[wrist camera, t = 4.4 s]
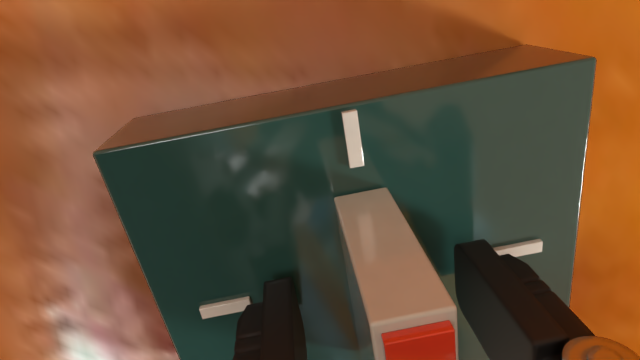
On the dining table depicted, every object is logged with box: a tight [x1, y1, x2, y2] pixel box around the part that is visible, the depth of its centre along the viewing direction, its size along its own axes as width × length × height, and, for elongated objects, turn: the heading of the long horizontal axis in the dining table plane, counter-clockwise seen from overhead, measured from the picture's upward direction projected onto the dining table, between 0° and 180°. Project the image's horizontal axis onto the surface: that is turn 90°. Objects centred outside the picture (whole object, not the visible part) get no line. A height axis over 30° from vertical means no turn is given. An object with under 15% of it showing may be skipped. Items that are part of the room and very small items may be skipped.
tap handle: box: [334, 187, 459, 360], centre depth 9 cm, size 6×1×5 cm, turn 9°
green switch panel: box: [93, 44, 597, 360], centre depth 13 cm, size 12×10×3 cm
